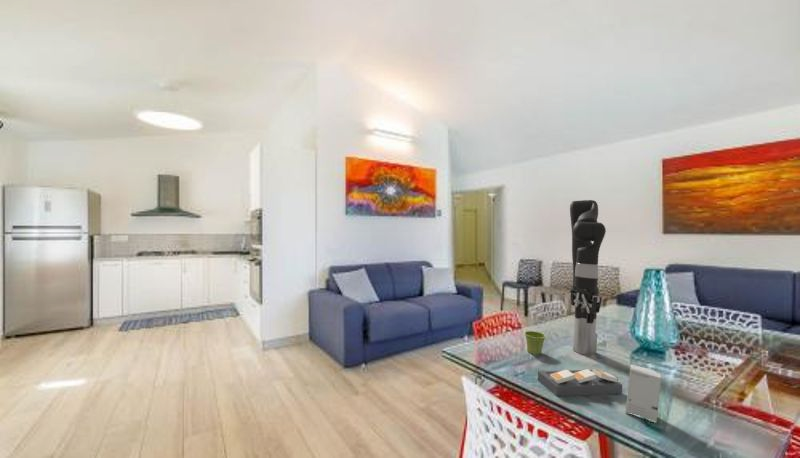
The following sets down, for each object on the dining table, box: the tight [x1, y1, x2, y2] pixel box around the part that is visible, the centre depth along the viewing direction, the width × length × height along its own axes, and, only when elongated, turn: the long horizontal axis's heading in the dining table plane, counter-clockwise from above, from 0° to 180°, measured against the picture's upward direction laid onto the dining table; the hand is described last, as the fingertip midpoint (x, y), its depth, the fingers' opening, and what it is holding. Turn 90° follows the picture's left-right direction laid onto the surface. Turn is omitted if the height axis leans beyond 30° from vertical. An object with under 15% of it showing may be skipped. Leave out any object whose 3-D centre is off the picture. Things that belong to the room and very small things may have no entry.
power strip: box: [537, 369, 623, 397], centre depth 124 cm, size 32×12×4 cm, turn 98°
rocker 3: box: [591, 368, 619, 382], centre depth 122 cm, size 7×4×2 cm, turn 99°
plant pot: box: [524, 330, 547, 355], centre depth 157 cm, size 9×9×9 cm
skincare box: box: [625, 364, 662, 423], centre depth 106 cm, size 8×6×15 cm
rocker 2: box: [573, 368, 596, 383], centre depth 121 cm, size 7×4×2 cm, turn 98°
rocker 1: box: [550, 369, 575, 384], centre depth 120 cm, size 7×4×2 cm, turn 98°
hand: (583, 320), depth 122 cm, fingers open, 5 cm apart
